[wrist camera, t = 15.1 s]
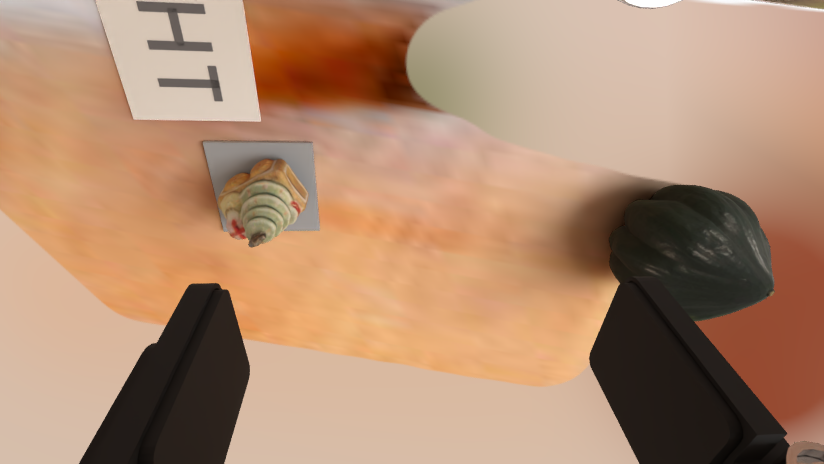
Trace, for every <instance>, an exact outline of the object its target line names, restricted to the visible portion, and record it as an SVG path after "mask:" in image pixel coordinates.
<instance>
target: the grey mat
mask: <svg viewBox="0 0 824 464" xmlns="http://www.w3.org/2000/svg"><path fill="white" fill-rule="evenodd" d="M203 146H204V150H205V155H206V159H207V163H208V167H209V171H210V176H211V180H212V184H213V188H214V192H215V197H216V201H217V205H218V198H219V195H220V193H221V192H222V190H223V188H224V187H225V184H226V183H227V181H228V180H229V179H231V178H232V177H234V176H235V175H237V174H239V173H244V172H245V173H248V174H250V171H251V170H252V168H253V167H254V166H255V165H256V164H257V163H258V162H260V161H261V160H264V159H271V160H277V159H283V160H285V161H286V163H287V164H288V165H289V166H290V168H291V169H292V170H293V172H294V173H295V175H296V176H297V178H298V179H299V180H300V182H301V183H302V184H303V185H304V187H305V188H306V190H307V191H308V193H309V197H308V201H307V205H306V208H305V210H304V211H303V212H301V213H300V214H299V216H298V217H297V220H296V221H295V222H294V223H293V224H291V225H288V226H287V228H286V229H285V230H284V231H319V230H320V224H319V212H318V200H317V189H316V177H315V165H314V153H313V142H279V141H203ZM218 209H219V213H220V218H221V222H222V226H223V230H224V232H228V230H227V228H226V224H227V219H226V218H225V216H224V214H223V212H222V210H221V209H220V208H219V207H218Z"/></svg>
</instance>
